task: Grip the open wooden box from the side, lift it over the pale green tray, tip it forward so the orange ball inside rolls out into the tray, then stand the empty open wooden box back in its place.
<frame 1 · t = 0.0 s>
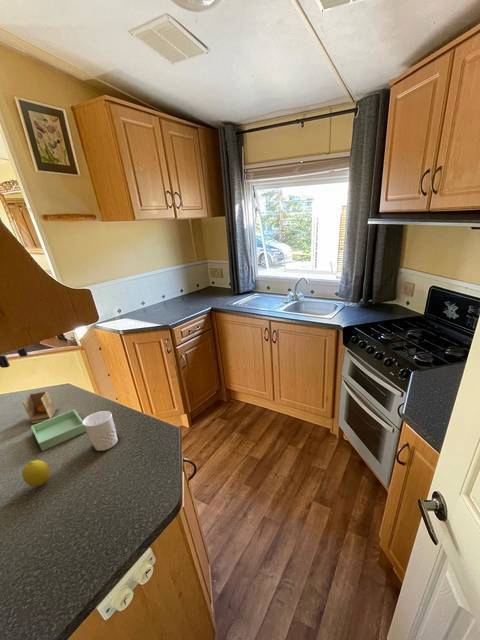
hand: (15, 361, 93), 25 cm above the countertop, tool pointing down, fingers open, 8 cm apart
lemon: (42, 484, 79), on the countertop
ball: (42, 408, 108), point 3 cm above the countertop, touching open wooden box
tray: (60, 431, 100), on the countertop
open wooden box: (44, 417, 109), on the countertop, touching ball
white cup: (106, 444, 93), on the countertop
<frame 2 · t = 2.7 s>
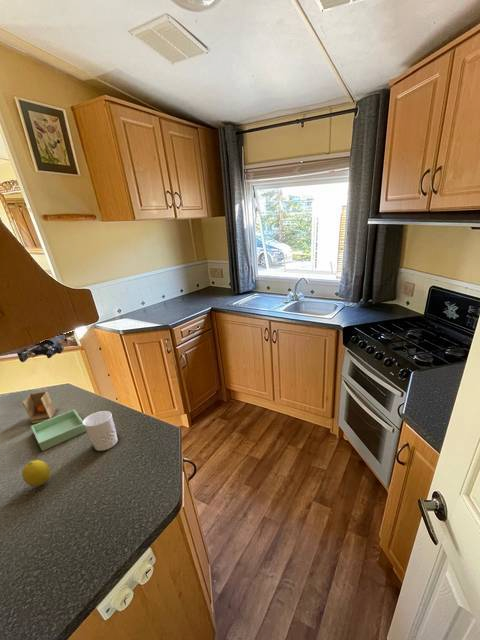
hand: (34, 357, 110), 20 cm above the countertop, tool horizontal, fingers open, 8 cm apart
nothing on the countertop moved.
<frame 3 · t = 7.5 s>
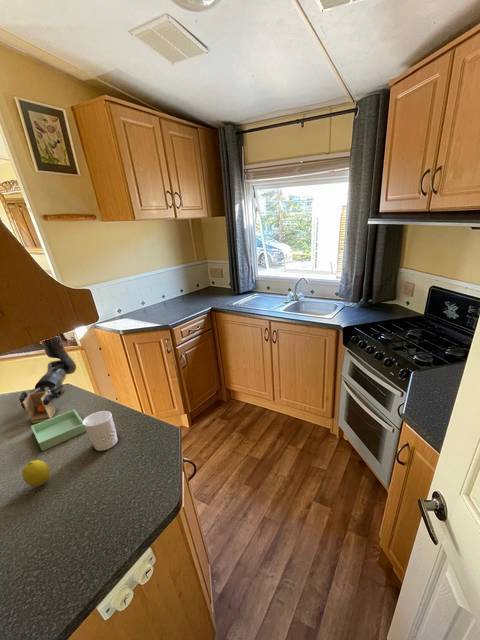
hand: (34, 404, 104), 7 cm above the countertop, tool horizontal, fingers closed on open wooden box, 5 cm apart
open wooden box: (44, 417, 109), on the countertop, touching ball, gripper
everything else where it was.
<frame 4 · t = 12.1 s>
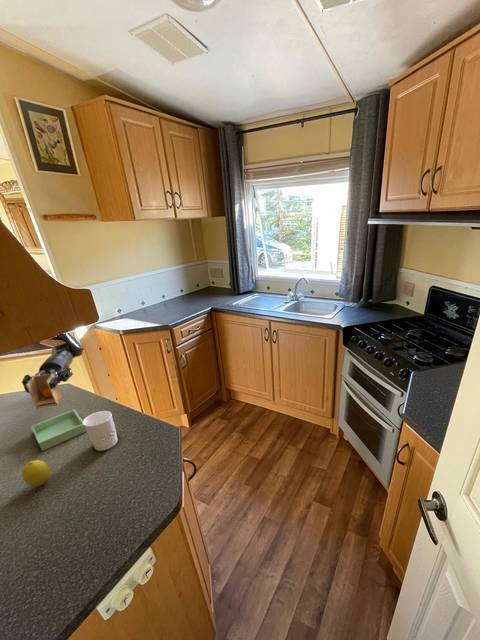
hand: (39, 388, 92), 18 cm above the countertop, tool horizontal, fingers closed on open wooden box, 5 cm apart
ball: (47, 393, 97), point 14 cm above the countertop, touching open wooden box
open wooden box: (50, 402, 97), point 11 cm above the countertop, touching ball, gripper
everything else where it was.
when the fingers open (7 cm above the countertop, at t = 21.3 s): open wooden box stays where it is, on the countertop.
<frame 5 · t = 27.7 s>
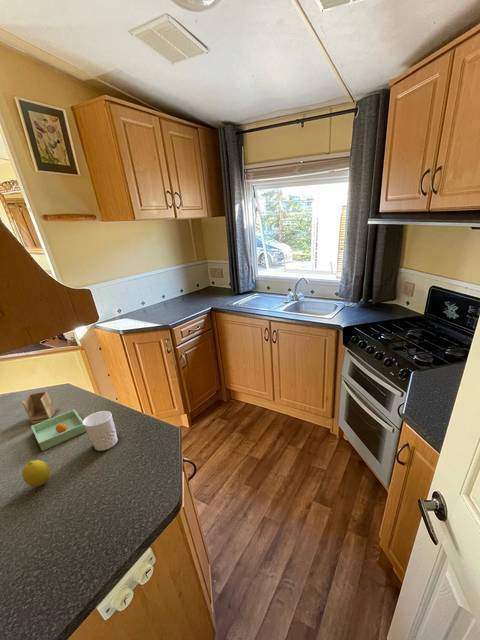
hand: (28, 343, 107), 26 cm above the countertop, tool horizontal, fingers open, 8 cm apart
ball: (61, 428, 99), point 2 cm above the countertop, tilted 132°, touching tray
open wooden box: (44, 417, 108), on the countertop
everything else where it was.
at the end: ball inside the target area in the tray (1.3 cm from its centre), point 2.0 cm above the tray's base; open wooden box tilted 0°; the gripper is holding nothing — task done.
